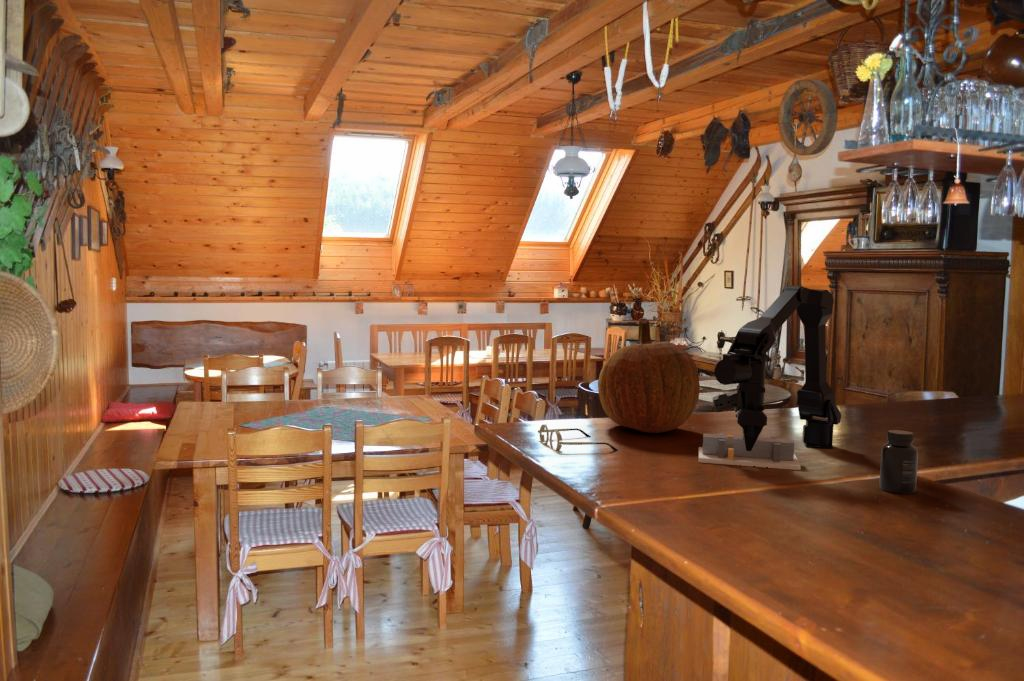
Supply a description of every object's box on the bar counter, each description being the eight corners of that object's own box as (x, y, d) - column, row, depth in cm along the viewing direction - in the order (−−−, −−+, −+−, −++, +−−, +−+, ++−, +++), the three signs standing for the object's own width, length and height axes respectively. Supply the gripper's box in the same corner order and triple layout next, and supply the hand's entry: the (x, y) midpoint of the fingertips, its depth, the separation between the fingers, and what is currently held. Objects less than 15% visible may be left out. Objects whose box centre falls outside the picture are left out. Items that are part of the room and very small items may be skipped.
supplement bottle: (913, 487, 172) (917, 430, 170) (917, 496, 165) (922, 436, 164) (877, 484, 174) (881, 427, 173) (880, 492, 167) (884, 433, 166)
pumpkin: (575, 423, 231) (579, 315, 228) (658, 418, 242) (662, 315, 239) (626, 443, 206) (631, 323, 203) (716, 437, 217) (722, 322, 214)
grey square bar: (791, 456, 192) (792, 438, 191) (793, 460, 188) (794, 441, 188) (702, 450, 196) (703, 432, 196) (702, 453, 192) (703, 435, 192)
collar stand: (794, 458, 196) (795, 437, 195) (800, 470, 184) (801, 447, 183) (698, 450, 200) (699, 430, 200) (698, 462, 189) (699, 440, 188)
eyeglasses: (535, 440, 209) (535, 420, 209) (590, 437, 214) (591, 418, 214) (560, 455, 193) (561, 434, 193) (619, 452, 198) (620, 432, 198)
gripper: (714, 374, 201) (711, 438, 203) (716, 385, 183) (712, 455, 185) (762, 377, 199) (759, 441, 200) (769, 388, 181) (764, 459, 182)
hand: (748, 448), depth 192 cm, fingers closed on grey square bar, 4 cm apart
